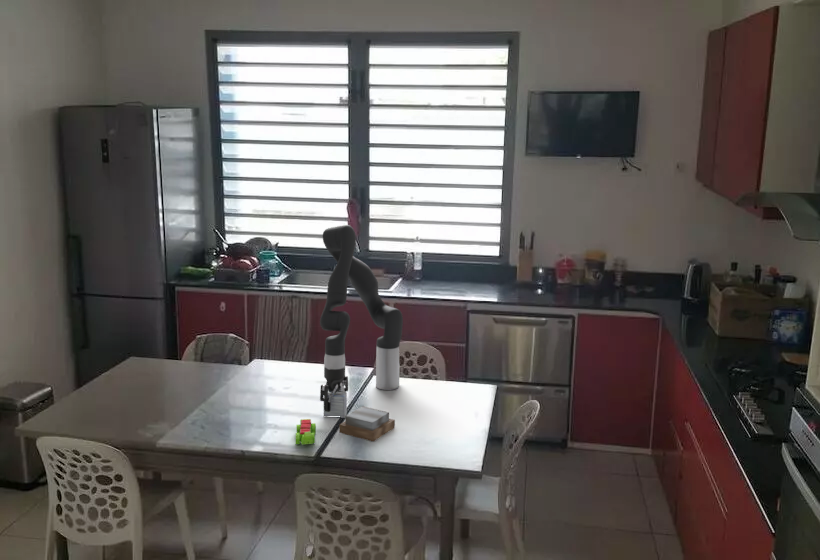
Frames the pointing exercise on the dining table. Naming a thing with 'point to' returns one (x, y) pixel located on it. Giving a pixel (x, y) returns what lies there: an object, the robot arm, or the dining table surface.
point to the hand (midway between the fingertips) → (334, 407)
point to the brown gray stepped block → (367, 423)
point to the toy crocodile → (306, 432)
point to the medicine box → (338, 405)
